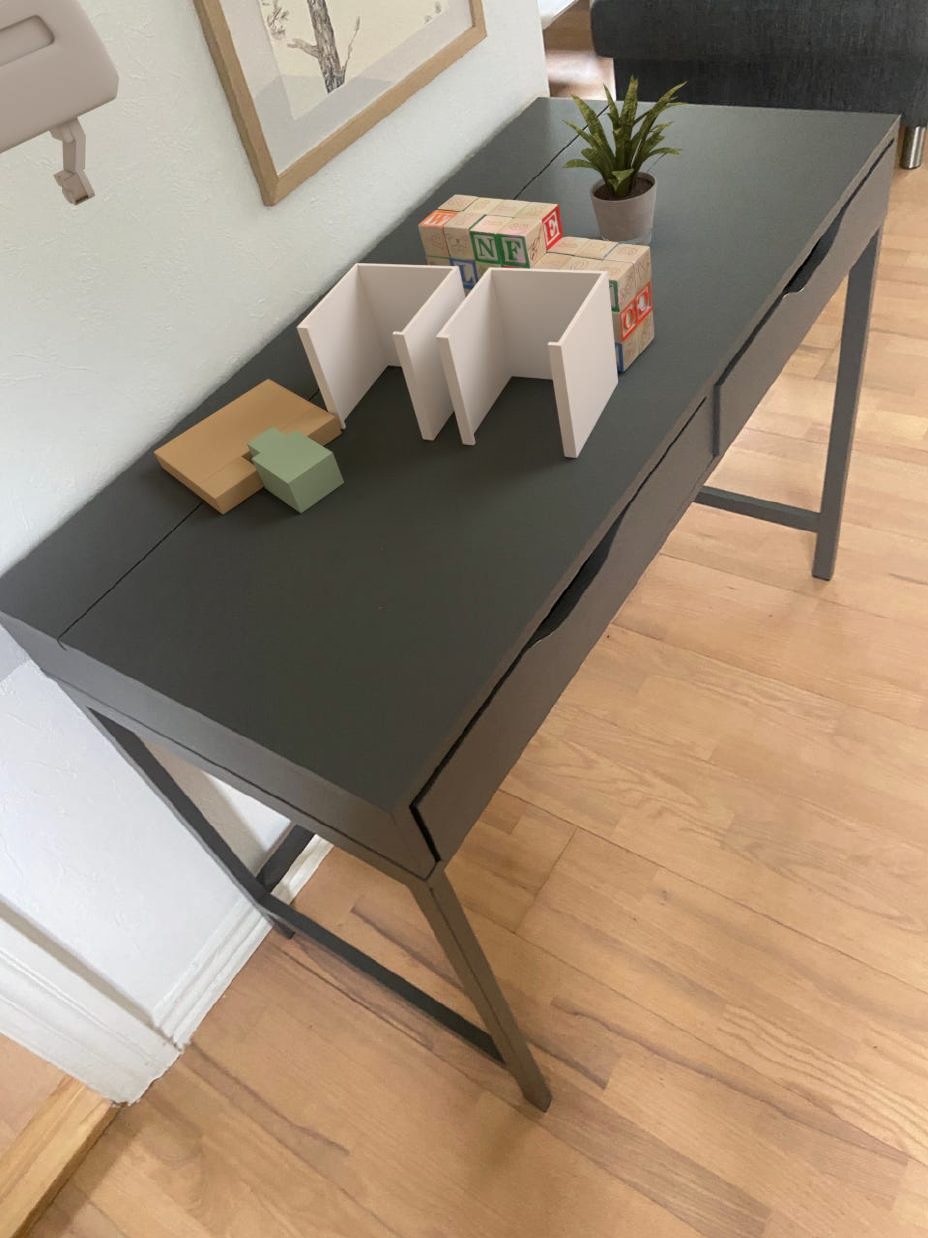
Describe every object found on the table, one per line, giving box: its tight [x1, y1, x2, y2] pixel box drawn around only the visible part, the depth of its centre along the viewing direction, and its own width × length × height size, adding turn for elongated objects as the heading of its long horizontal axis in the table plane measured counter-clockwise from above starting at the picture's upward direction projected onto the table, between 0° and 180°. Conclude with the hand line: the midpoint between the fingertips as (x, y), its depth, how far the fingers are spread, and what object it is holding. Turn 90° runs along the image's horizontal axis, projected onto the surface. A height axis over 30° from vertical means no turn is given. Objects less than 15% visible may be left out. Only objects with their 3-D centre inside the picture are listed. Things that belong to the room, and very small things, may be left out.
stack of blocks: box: [417, 194, 655, 373], centre depth 87 cm, size 21×6×12 cm, turn 54°
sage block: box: [247, 427, 345, 514], centre depth 83 cm, size 5×8×4 cm, turn 42°
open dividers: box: [296, 262, 619, 459], centre depth 82 cm, size 25×11×11 cm, turn 65°
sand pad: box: [153, 378, 342, 515], centre depth 88 cm, size 14×12×2 cm
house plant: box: [560, 73, 689, 246], centre depth 94 cm, size 14×14×16 cm
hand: (18, 232), depth 59 cm, fingers open, 8 cm apart
